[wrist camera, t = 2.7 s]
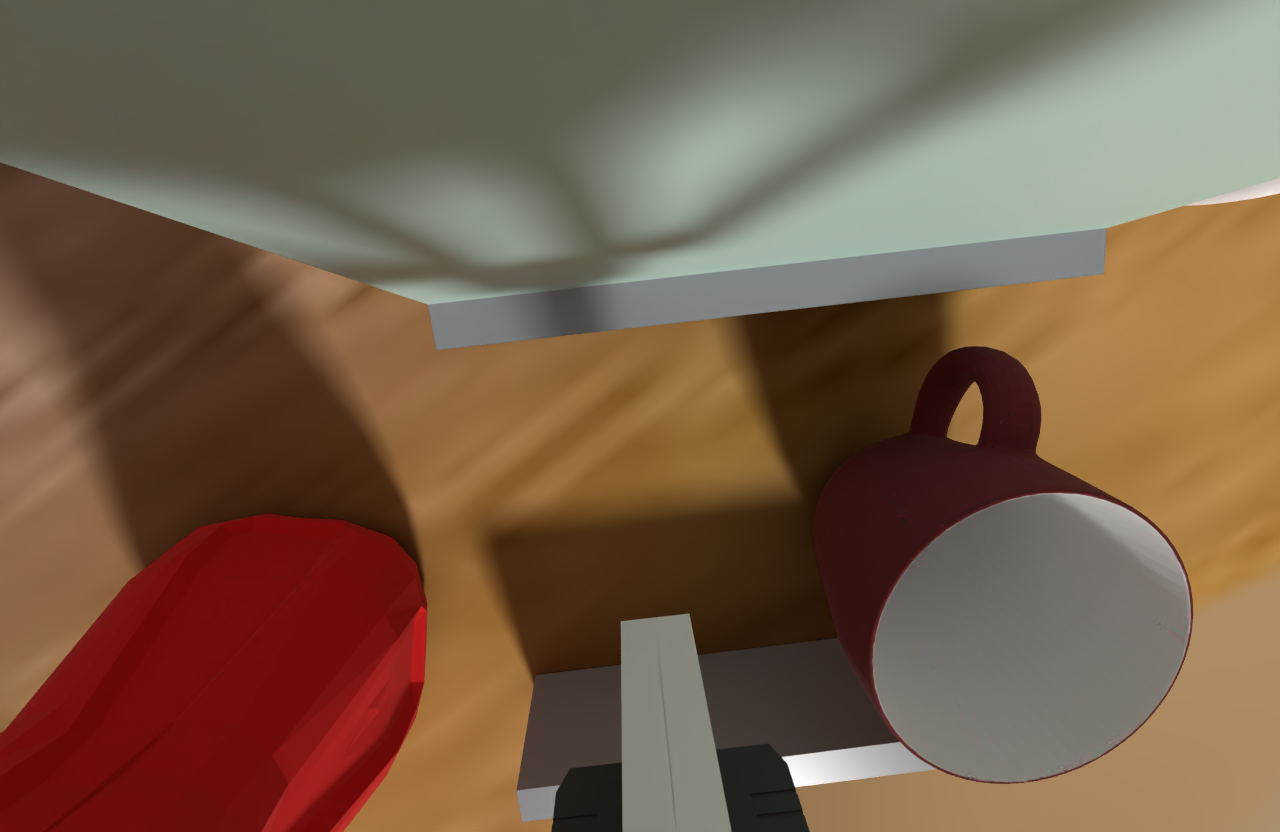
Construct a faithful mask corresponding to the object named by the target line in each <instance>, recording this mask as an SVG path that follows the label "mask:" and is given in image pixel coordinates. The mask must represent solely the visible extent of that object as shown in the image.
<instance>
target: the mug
mask: <svg viewBox="0 0 1280 832" xmlns="http://www.w3.org/2000/svg"><path fill="white" fill-rule="evenodd" d="M974 381H975V382H976V383H977V384H978V386H979V389H980V392H981V395H982V401H983V424H982V429H981V434H980V438H979V441H978V444H977V445H976V446H975V445H970V444H965V443H961V442H957V441H954V440H951V439H949V438H947V437H946V434H947V430H948V427H949V424H950V421H951V419H952V416H953V414H954V412H955V410H956V408H957V406H958V404H959V402H960V400H961V398H962V397H963V395H964V394H965V392H966V391H967V389H968V388H969V387H970V385H971V384H972V383H973V382H974ZM1040 426H1041V406H1040V401H1039V396H1038V393H1037V391H1036V388H1035V385H1034V383H1033V380H1032V378H1031V377H1030V375H1029V373H1028V371H1027V370H1026V369H1025V367H1024V366H1023V365H1022V364H1021V363H1020V362H1019V361H1018V360H1016V359H1015V358H1013V357H1011V356H1010V355H1008V354H1007V353H1005V352H1003V351H999V350H996V349H992V348H988V347H978V346H973V347H963V348H959V349H956V350H953V351H950V352H949V353H947V354H946V355H945V356H943V357H942V358H941V359H939V360H938V361H937V362H936V363H935V364H934V365H933V367H932V368H931V369H930V371H929V372H928V374H927V376H926V378H925V380H924V382H923V384H922V387H921V389H920V392H919V395H918V398H917V402H916V406H915V409H914V414H913V418H912V422H911V427H910V431H909V432H908V433H906V434H903V435H900V436H897V437H893V438H890V439H887V440H883V441H880V442H877V443H875V444H872V445H870V446H868V447H866V448H864V449H862V450H860V451H858V452H856V453H855V454H853V455H852V456H850V457H849V458H848V459H847V460H845V461H844V462H843V463H842V464H841V465H840V466H839V467H838V468H837V469H836V470H835V471H834V473H833V474H832V475H831V477H830V478H829V479H828V481H827V483H826V485H825V486H824V488H823V490H822V492H821V494H820V497H819V500H818V503H817V506H816V510H815V514H814V520H813V545H814V551H815V556H816V561H817V564H818V568H819V572H820V576H821V579H822V583H823V587H824V590H825V594H826V598H827V602H828V605H829V609H830V613H831V616H832V620H833V623H834V627H835V630H836V633H837V636H838V639H839V641H840V644H841V646H842V649H843V651H844V654H845V656H846V658H847V660H848V662H849V664H850V666H851V668H852V670H853V671H854V673H855V675H856V677H857V679H858V680H859V682H860V684H861V685H862V687H863V689H864V690H865V692H866V694H867V695H868V697H869V699H870V700H871V702H872V703H873V705H874V707H875V708H876V710H877V711H878V713H879V714H880V716H881V718H882V719H883V721H884V722H885V724H886V725H887V726H888V728H889V729H890V731H891V732H892V733H893V734H894V736H895V737H896V738H897V739H898V740H899V741H900V742H901V743H902V744H903V746H904V747H906V748H907V749H908V750H909V751H910V752H911V753H912V754H914V755H915V756H916V757H918V758H919V759H921V760H922V761H924V762H925V763H927V764H929V765H930V766H932V767H934V768H936V769H938V770H941V771H943V772H945V773H947V774H950V775H953V776H956V777H960V778H963V779H967V780H972V781H976V782H984V783H997V784H1010V783H1011V784H1012V783H1024V782H1032V781H1038V780H1042V779H1047V778H1051V777H1055V776H1058V775H1061V774H1065V773H1067V772H1070V771H1072V770H1075V769H1078V768H1080V767H1082V766H1084V765H1087V764H1089V763H1091V762H1092V761H1095V760H1096V759H1098V758H1100V757H1102V756H1103V755H1105V754H1107V753H1108V752H1110V751H1111V750H1113V749H1114V748H1116V747H1117V746H1119V745H1120V744H1121V743H1123V742H1124V741H1125V740H1126V739H1128V738H1129V737H1130V736H1131V735H1133V734H1134V733H1135V732H1136V731H1137V730H1138V729H1139V728H1140V727H1141V726H1142V725H1143V724H1144V723H1145V722H1146V721H1147V720H1148V719H1149V718H1150V717H1151V715H1152V714H1153V713H1154V712H1155V711H1156V709H1157V708H1158V707H1159V705H1160V704H1161V703H1162V701H1163V700H1164V699H1165V697H1166V696H1167V694H1168V692H1169V691H1170V689H1171V688H1172V686H1173V684H1174V682H1175V680H1176V678H1177V676H1178V674H1179V672H1180V670H1181V667H1182V665H1183V662H1184V660H1185V657H1186V653H1187V650H1188V646H1189V642H1190V637H1191V632H1192V622H1193V600H1192V593H1191V587H1190V583H1189V579H1188V575H1187V572H1186V570H1185V567H1184V565H1183V562H1182V560H1181V558H1180V556H1179V554H1178V553H1177V551H1176V549H1175V547H1174V546H1173V545H1172V543H1171V542H1170V540H1169V539H1168V538H1167V536H1166V535H1165V534H1164V533H1163V532H1162V531H1161V530H1160V529H1159V528H1158V526H1156V525H1155V524H1154V523H1153V522H1152V521H1151V520H1149V519H1148V518H1147V517H1146V516H1144V515H1143V514H1142V513H1140V512H1139V511H1137V510H1136V509H1134V508H1133V507H1131V506H1129V505H1127V504H1126V503H1124V502H1122V501H1120V500H1118V499H1116V498H1115V497H1113V496H1111V495H1109V494H1107V493H1105V492H1103V491H1102V490H1100V489H1098V488H1096V487H1094V486H1092V485H1090V484H1089V483H1087V482H1085V481H1083V480H1081V479H1079V478H1077V477H1075V476H1073V475H1072V474H1070V473H1068V472H1066V471H1064V470H1062V469H1060V468H1058V467H1056V466H1054V465H1052V464H1050V463H1048V462H1046V461H1044V460H1043V459H1041V458H1040V457H1038V455H1037V454H1036V446H1037V442H1038V438H1039V434H1040Z"/></svg>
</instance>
